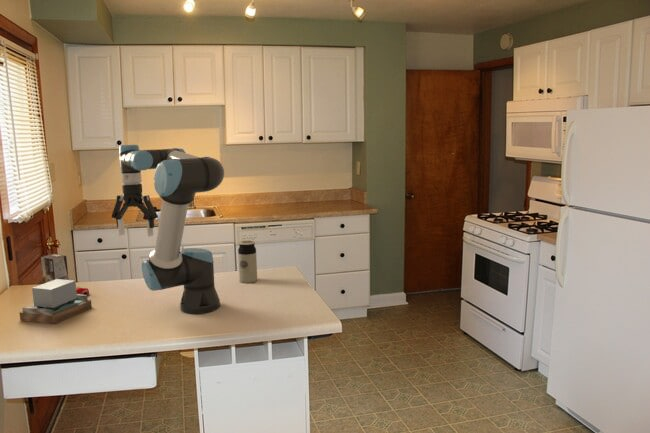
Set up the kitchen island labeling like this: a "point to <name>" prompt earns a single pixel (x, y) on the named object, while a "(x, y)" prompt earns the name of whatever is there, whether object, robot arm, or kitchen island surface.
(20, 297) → the kitchen island surface
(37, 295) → the grey cart
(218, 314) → the kitchen island surface
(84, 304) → the tray
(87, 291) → the race car
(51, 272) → the coffee box
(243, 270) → the travel mug
